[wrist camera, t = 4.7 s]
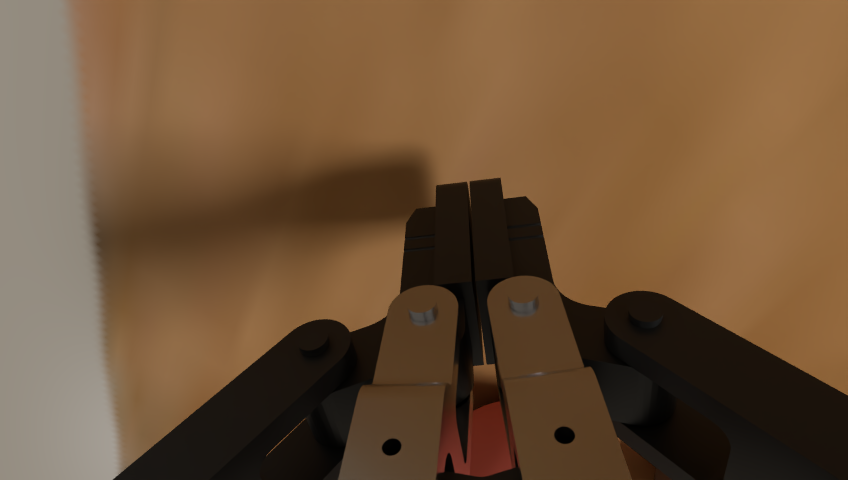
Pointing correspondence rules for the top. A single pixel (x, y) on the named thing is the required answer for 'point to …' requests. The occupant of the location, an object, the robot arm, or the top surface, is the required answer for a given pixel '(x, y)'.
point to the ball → (488, 442)
